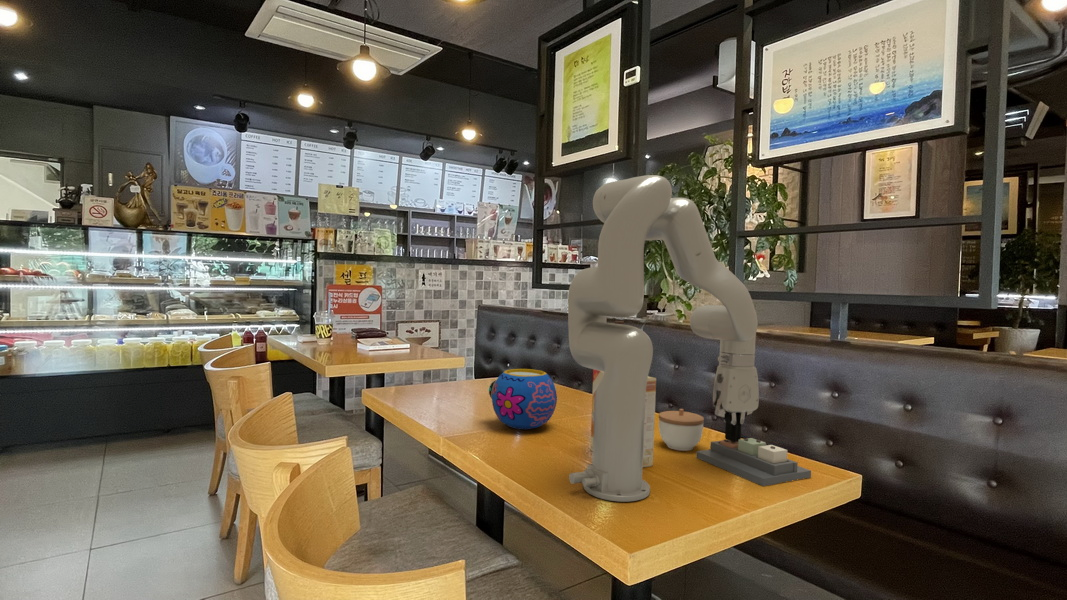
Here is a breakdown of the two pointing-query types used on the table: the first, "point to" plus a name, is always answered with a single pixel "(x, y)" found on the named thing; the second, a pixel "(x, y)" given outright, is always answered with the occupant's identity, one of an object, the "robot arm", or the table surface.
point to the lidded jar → (680, 429)
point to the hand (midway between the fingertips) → (732, 440)
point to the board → (752, 465)
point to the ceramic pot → (523, 398)
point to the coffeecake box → (648, 416)
